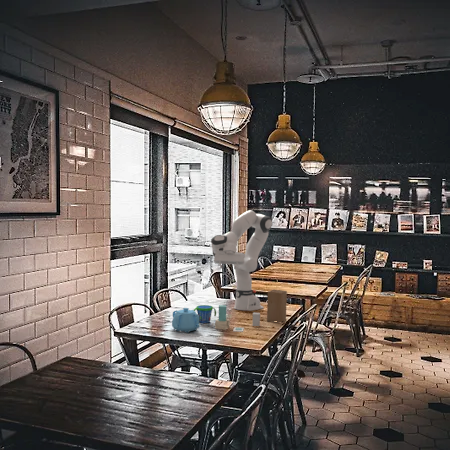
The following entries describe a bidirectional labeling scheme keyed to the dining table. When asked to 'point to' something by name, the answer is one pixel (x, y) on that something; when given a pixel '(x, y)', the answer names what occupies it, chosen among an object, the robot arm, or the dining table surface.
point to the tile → (238, 329)
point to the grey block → (256, 319)
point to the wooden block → (276, 305)
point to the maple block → (222, 324)
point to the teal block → (222, 312)
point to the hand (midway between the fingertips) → (228, 268)
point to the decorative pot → (185, 320)
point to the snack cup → (205, 313)
